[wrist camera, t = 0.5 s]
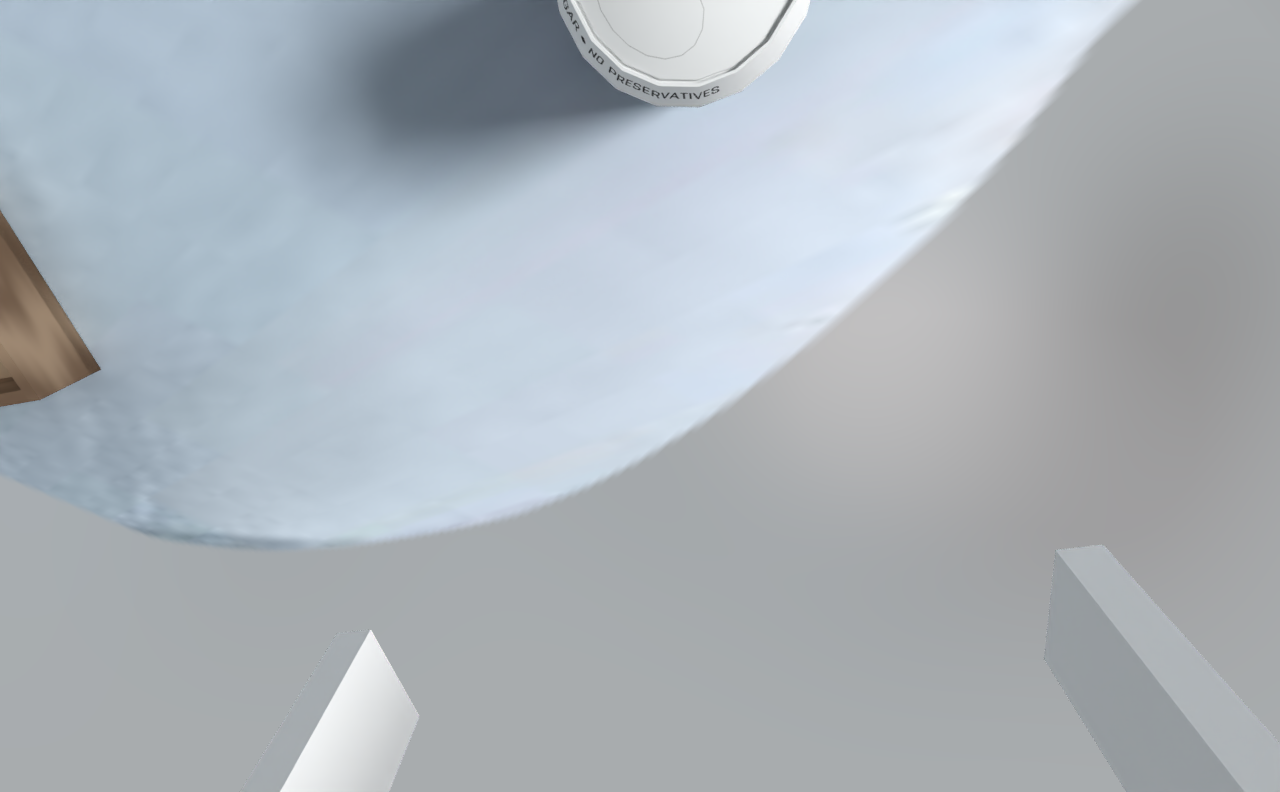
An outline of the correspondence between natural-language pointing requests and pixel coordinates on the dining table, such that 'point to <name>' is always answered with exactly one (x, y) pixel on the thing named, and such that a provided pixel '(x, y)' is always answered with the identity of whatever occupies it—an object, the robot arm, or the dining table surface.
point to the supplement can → (682, 44)
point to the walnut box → (34, 331)
